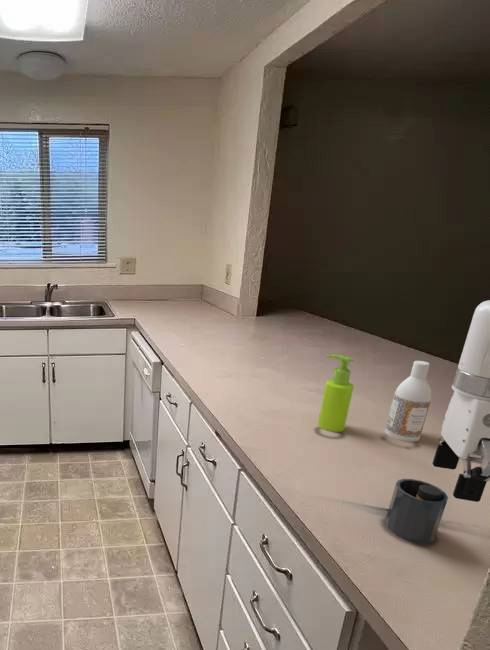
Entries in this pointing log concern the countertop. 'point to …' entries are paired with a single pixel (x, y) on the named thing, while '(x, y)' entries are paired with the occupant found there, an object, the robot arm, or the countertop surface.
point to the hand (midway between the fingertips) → (453, 482)
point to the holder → (414, 512)
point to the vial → (428, 493)
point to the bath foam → (410, 405)
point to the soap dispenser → (336, 397)
